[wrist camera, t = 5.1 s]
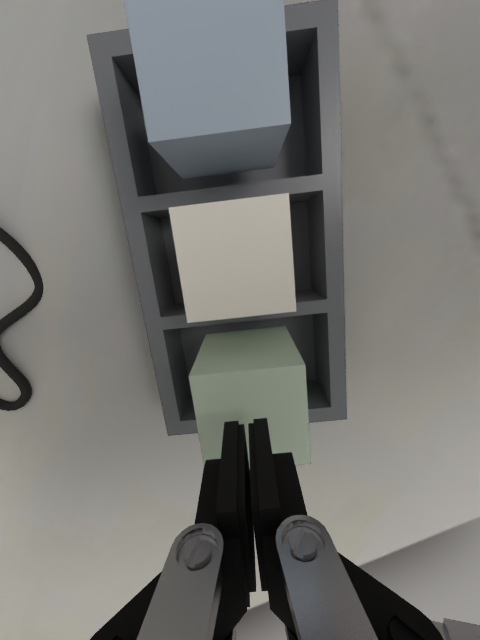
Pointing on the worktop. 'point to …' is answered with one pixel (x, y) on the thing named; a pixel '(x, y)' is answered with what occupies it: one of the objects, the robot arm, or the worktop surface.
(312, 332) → the box
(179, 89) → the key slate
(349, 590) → the robot arm
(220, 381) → the key sage
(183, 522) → the worktop surface
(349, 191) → the worktop surface
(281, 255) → the key ivory
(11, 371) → the cable
